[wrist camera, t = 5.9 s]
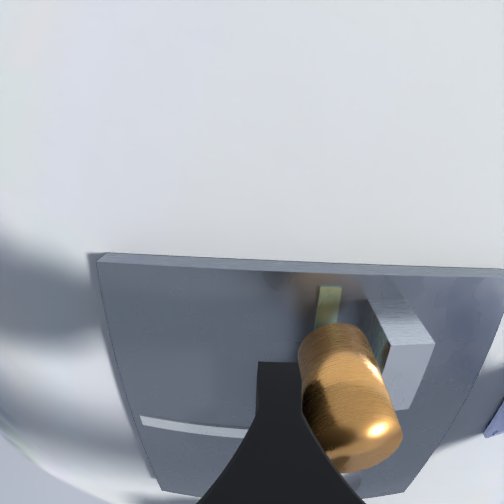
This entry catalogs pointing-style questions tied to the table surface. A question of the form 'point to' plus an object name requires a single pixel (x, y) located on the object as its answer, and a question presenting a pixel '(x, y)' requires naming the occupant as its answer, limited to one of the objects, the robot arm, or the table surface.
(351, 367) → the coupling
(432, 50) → the table surface
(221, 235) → the table surface
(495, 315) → the base
